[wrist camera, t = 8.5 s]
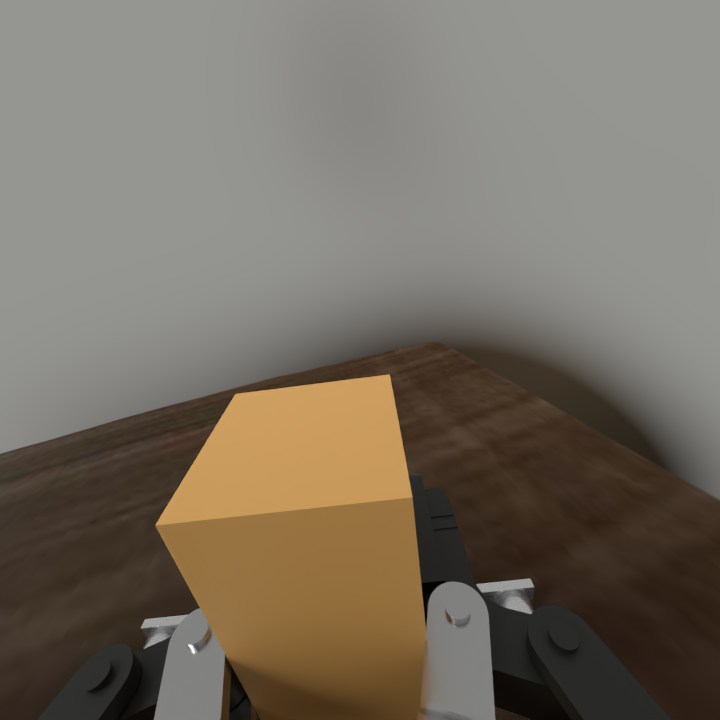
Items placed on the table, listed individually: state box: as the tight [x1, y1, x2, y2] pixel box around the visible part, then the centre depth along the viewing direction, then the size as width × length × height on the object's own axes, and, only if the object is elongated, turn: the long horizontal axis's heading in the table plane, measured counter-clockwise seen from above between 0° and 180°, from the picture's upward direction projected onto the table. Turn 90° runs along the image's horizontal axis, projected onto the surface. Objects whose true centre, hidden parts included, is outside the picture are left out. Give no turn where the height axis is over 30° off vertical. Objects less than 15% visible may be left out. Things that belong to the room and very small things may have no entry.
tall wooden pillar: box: [155, 375, 427, 720], centre depth 10 cm, size 4×5×12 cm
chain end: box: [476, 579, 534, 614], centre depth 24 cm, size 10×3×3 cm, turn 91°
